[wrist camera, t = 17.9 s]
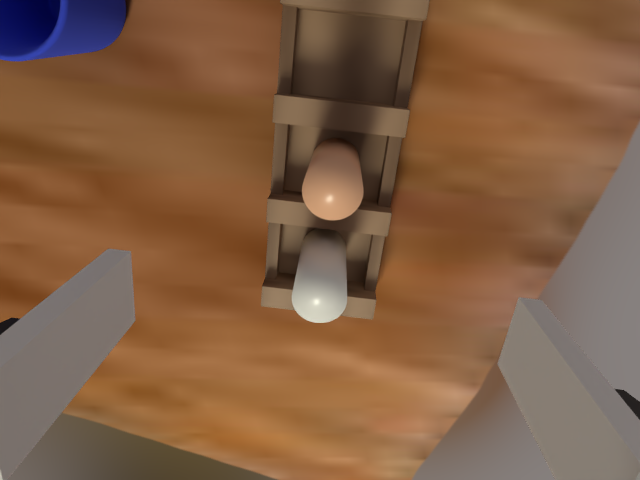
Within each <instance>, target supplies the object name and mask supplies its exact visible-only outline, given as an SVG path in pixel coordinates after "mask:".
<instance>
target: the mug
mask: <svg viewBox="0 0 640 480" xmlns="http://www.w3.org/2000/svg"><path fill="white" fill-rule="evenodd" d="M125 18H126V3H125V0H0V59H2V60H7V61H26V60H34V59H41V58H49V57H57V56H64V55H72V54H80V53H88V52H94V51H98V50H101V49H103V48H105V47H107V46H109V45H110V44H111V43H113V42H114V41H115V40H116V39H117V37H118V36H119V35H120V33H121V31H122V29H123V26H124V23H125Z"/></svg>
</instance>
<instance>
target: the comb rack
mask: <svg viewBox="0 0 640 480" xmlns="http://www.w3.org/2000/svg"><path fill="white" fill-rule="evenodd" d="M280 3H281V4H282V5H283V12H282V27H281V42H280V58H279V73H278V88H277V94H275V95H274V107H273V123H275V134H274V150H273V165H272V180H271V194H270V196H269V197H268V202H267V218H266V222H269V226H268V242H267V257H266V273H265V280H264V283H263V286H262V298H261V306H264V307H273V308H281V309H289V310H295V309H294V307H293V304H292V292H293V287H294V282H295V277H296V272H297V267H298V262H299V257H300V252H301V247H302V243H303V240H304V238H305V236H306V235H307V234H308V233H309V232H311V231H312V230H314V229H317V228H321V229H330V230H335V231H337V232H338V233H339V234H340V235H341V236H342V237H343V239H344V241H345V244H346V272H347V305H346V308H345V310H344V311H343V313H342V314H341V315H340V316H348V317H356V318H365V319H373V316H374V310H375V305H376V294H375V290H376V284H377V279H378V273H379V267H380V261H381V256H382V250H383V244H384V239H385V236H388V231H389V226H390V220H391V214H392V213H391V209H390V204H391V199H392V193H393V187H394V181H395V176H396V170H397V164H398V159H399V153H400V147H401V141H402V138H405V136H406V130H407V124H408V119H409V113H410V110H409V109H408V108H407V107H408V101H409V96H410V90H411V84H412V79H413V73H414V67H415V61H416V56H417V50H418V44H419V38H420V33H421V27H422V21H424V20H426V17H427V12H428V6H429V0H280ZM329 138H342V139H345V140H347V141H348V142H350V143H351V144H352V145H353V146H354V147H355V148H356V150H357V152H358V155H359V161H360V168H361V175H362V182H363V190H364V191H363V198H362V201H361V204H360V205H359V207H358V208H357V210H356V211H355V212H354V213H352V214H351V215H350V216H348V217H346V218H344V219H340V220H325V219H322V218H320V217H318V216H316V215H314V214H313V213H312V212H311V211H310V210H309V209H308V207H307V206H306V204H305V202H304V200H303V196H302V185H303V181H304V178H305V175H306V173H307V170H308V167H309V164H310V161H311V158H312V155H313V152H314V150H315V149H316V147H317V146H318V145H319V144H320V143H321V142H323V141H324V140H326V139H329Z"/></svg>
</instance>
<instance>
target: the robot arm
mask: <svg viewBox="0 0 640 480" xmlns="http://www.w3.org/2000/svg"><path fill="white" fill-rule="evenodd" d="M134 322H135V309H134V293H133V278H132V262H131V251H124V250H115V249H107V250H106V251H105V252H104V253H102V254H101V255H100V256H99V257H97V258H96V259H95V260H94V261H92V262H91V263H90V264H89V265H87V266H86V267H85V268H83V269H82V270H81V271H80V272H78V273H77V274H76V275H75V276H73V277H72V278H71V279H70V280H68V281H67V282H66V283H65V284H63V285H62V286H61V287H60V288H58V289H57V290H56V291H55V292H53V293H52V294H51V295H50V296H48V297H47V298H46V299H45V300H43V301H42V302H41V303H40V304H38V305H37V306H36V307H35V308H33V309H32V310H31V311H30V312H28V313H27V314H26V315H25V316H23V317H22V318H21V319H18V318H10V319H8V320H6V321H3V322H1V323H0V480H8V478H9V477H10V476H11V475H12V473H13V472H14V471H15V470H16V468H17V467H18V466H19V465H20V464H21V462H22V461H23V460H24V459H25V457H26V456H27V455H28V454H29V452H30V451H31V450H32V449H33V447H34V446H35V445H36V443H37V442H38V441H39V440H40V439H41V437H42V436H43V435H44V434H45V432H46V431H47V430H48V429H49V427H50V426H51V425H52V424H53V422H54V421H55V420H56V419H57V417H58V416H59V415H60V414H61V412H62V411H63V410H64V409H65V408H66V406H67V405H68V404H69V403H70V401H71V400H72V399H73V398H74V396H75V395H76V394H77V393H78V391H79V390H80V389H81V388H82V386H83V385H84V384H85V383H86V381H87V380H88V379H89V378H90V376H91V375H92V374H93V373H94V371H95V370H96V369H97V368H98V366H99V365H100V364H101V363H102V361H103V360H104V359H105V358H106V357H107V355H108V354H109V353H110V352H111V350H112V349H113V348H114V347H115V345H116V344H117V343H118V342H119V340H120V339H121V338H122V337H123V335H124V334H125V333H126V332H127V330H128V329H129V328H130V327H131V325H132V324H133V323H134ZM498 366H499V368H500V370H501V372H502V374H503V376H504V378H505V380H506V382H507V384H508V386H509V388H510V390H511V392H512V394H513V396H514V398H515V400H516V402H517V404H518V406H519V408H520V410H521V412H522V414H523V416H524V418H525V420H526V422H527V424H528V426H529V428H530V430H531V432H532V434H533V436H534V438H535V440H536V442H537V444H538V446H539V448H540V450H541V452H542V454H543V456H544V458H545V460H546V462H547V464H548V466H549V468H550V470H551V472H552V474H553V476H554V478H555V480H640V402H639V401H638V400H636V399H635V398H634V397H632V396H631V395H629V394H628V393H627V392H626V391H624V390H618V389H614V388H613V387H612V386H611V384H610V383H609V382H608V381H607V379H606V378H605V377H604V376H603V375H602V373H601V372H600V371H599V370H598V369H597V367H596V366H595V365H594V364H593V362H592V361H591V360H590V359H589V358H588V356H587V355H586V354H585V353H584V351H583V350H582V349H581V348H580V346H579V345H578V344H577V343H576V342H575V340H574V339H573V338H572V337H571V336H570V334H569V333H568V332H567V331H566V330H565V328H564V327H563V326H562V324H561V323H560V322H559V321H558V319H557V318H556V317H555V316H554V315H553V313H552V312H551V311H550V310H549V309H548V307H547V306H546V305H545V304H544V302H543V301H542V300H536V299H528V298H520V297H519V299H518V302H517V305H516V308H515V311H514V314H513V317H512V321H511V324H510V327H509V330H508V333H507V336H506V339H505V343H504V346H503V349H502V352H501V355H500V358H499V361H498Z"/></svg>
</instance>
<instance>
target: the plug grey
mask: <svg viewBox="0 0 640 480" xmlns="http://www.w3.org/2000/svg"><path fill="white" fill-rule="evenodd" d="M292 304H293V307H294V309H295V310H296V312H297V313H298V314H299V315H300V316H301V317H303V318H304V319H306V320H308V321H311V322H316V323H325V322H329V321H332V320H334V319H336V318H337V317H339V316H340V315H341V314H342V313H343V311H344V310H345V308H346V305H347V272H346V244H345V241H344V239H343V237H342V236H341V235H340V234H339V233H338V232H337V231H335V230H330V229H321V228H317V229H314V230H312V231H311V232H309V233H308V234H307V235H306V236H305V238H304V240H303V243H302V247H301V252H300V257H299V262H298V267H297V272H296V277H295V282H294V287H293V292H292Z"/></svg>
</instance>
